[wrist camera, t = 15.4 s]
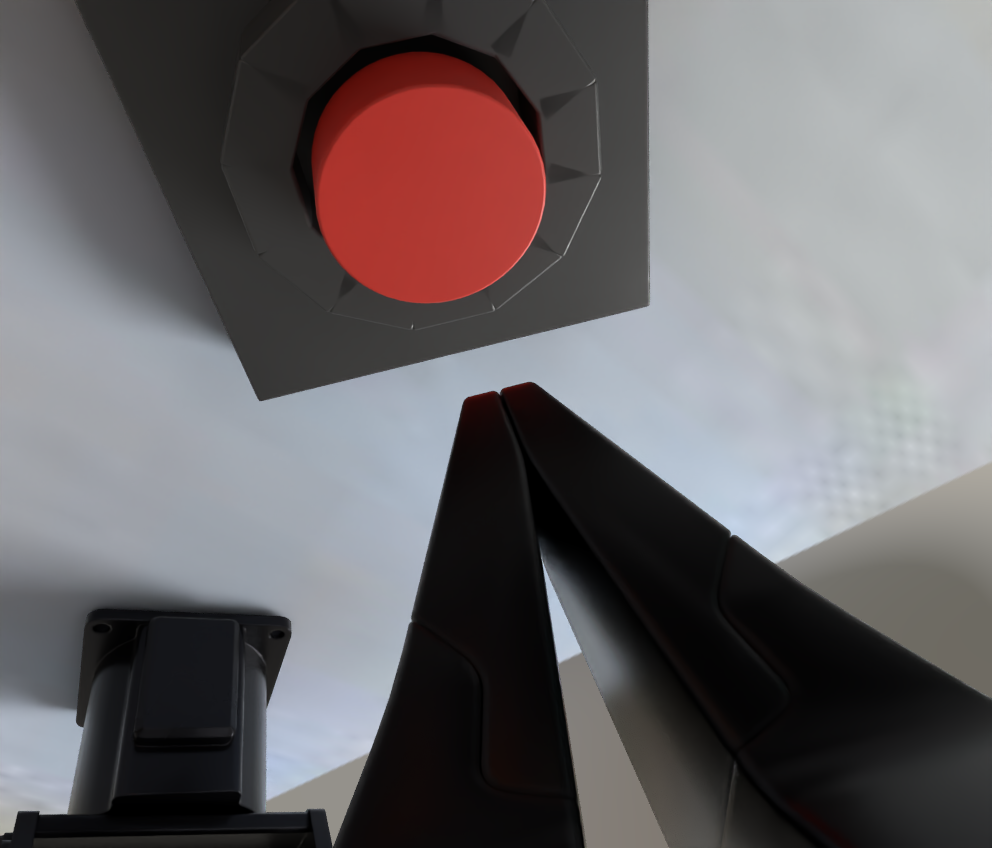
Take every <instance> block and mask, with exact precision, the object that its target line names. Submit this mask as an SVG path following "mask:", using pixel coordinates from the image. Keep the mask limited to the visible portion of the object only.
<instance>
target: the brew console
mask: <svg viewBox="0 0 992 848" xmlns="http://www.w3.org/2000/svg"><path fill="white" fill-rule="evenodd" d="M74 1H75V3H76V5H77V7H78V9H79V12H80V14H81V16H82V18H83V20H84V22H85V25H86V27H87V29H88V31H89V33H90V35H91V38H92V40H93V42H94V44H95V46H96V48H97V51H98V53H99V55H100V57H101V59H102V62H103V64H104V66H105V68H106V70H107V72H108V75H109V77H110V79H111V81H112V83H113V85H114V88H115V90H116V92H117V94H118V96H119V98H120V101H121V103H122V105H123V107H124V109H125V111H126V114H127V116H128V118H129V120H130V122H131V124H132V127H133V129H134V131H135V133H136V135H137V137H138V140H139V142H140V144H141V146H142V148H143V151H144V153H145V155H146V157H147V159H148V161H149V164H150V166H151V168H152V170H153V172H154V174H155V177H156V179H157V181H158V183H159V185H160V187H161V190H162V192H163V194H164V196H165V198H166V200H167V203H168V205H169V207H170V209H171V211H172V213H173V216H174V218H175V220H176V222H177V224H178V226H179V229H180V231H181V233H182V235H183V237H184V240H185V242H186V244H187V246H188V248H189V250H190V253H191V255H192V257H193V259H194V261H195V263H196V266H197V268H198V270H199V272H200V274H201V276H202V279H203V281H204V283H205V285H206V287H207V289H208V292H209V294H210V296H211V298H212V300H213V302H214V305H215V307H216V309H217V311H218V313H219V316H220V318H221V320H222V322H223V324H224V326H225V329H226V331H227V333H228V335H229V337H230V339H231V342H232V344H233V346H234V348H235V350H236V352H237V355H238V357H239V359H240V361H241V363H242V365H243V368H244V370H245V372H246V374H247V376H248V378H249V381H250V383H251V385H252V387H253V389H254V391H255V394H256V396H257V398H258V400H259V401H264V400H268V399H272V398H276V397H280V396H284V395H288V394H292V393H296V392H300V391H304V390H309V389H313V388H317V387H321V386H325V385H329V384H333V383H337V382H341V381H345V380H349V379H353V378H357V377H362V376H366V375H370V374H374V373H378V372H382V371H386V370H390V369H394V368H398V367H402V366H406V365H410V364H414V363H419V362H423V361H427V360H431V359H435V358H439V357H443V356H447V355H451V354H455V353H459V352H463V351H467V350H472V349H476V348H480V347H484V346H488V345H492V344H496V343H500V342H504V341H508V340H512V339H516V338H520V337H525V336H529V335H533V334H537V333H541V332H545V331H549V330H553V329H557V328H561V327H565V326H569V325H573V324H578V323H582V322H586V321H590V320H594V319H598V318H602V317H606V316H610V315H614V314H618V313H622V312H626V311H631V310H635V309H639V308H643V307H647V306H649V305H650V258H649V77H648V0H74ZM408 52H432V53H440V54H444V55H448V56H452V57H455V58H458V59H460V60H462V61H465V62H467V63H469V64H471V65H473V66H474V67H476V68H477V69H479V70H481V71H482V72H483V73H485V74H486V75H487V76H488V77H489V78H491V79H492V80H493V81H494V82H495V83H496V84H497V85H498V87H499V88H500V89H501V90H502V91H503V92H504V94H505V95H506V97H507V98H508V100H509V101H510V103H511V104H512V106H513V107H514V109H515V110H516V112H517V113H518V115H519V116H520V118H521V119H522V121H523V122H524V124H525V126H526V127H527V129H528V130H529V132H530V133H531V135H532V136H533V138H534V140H535V142H536V144H537V147H538V149H539V151H540V154H541V158H542V161H543V165H544V170H545V176H546V197H545V206H544V210H543V215H542V219H541V222H540V224H539V227H538V230H537V232H536V234H535V236H534V238H533V240H532V242H531V244H530V246H529V247H528V249H527V250H526V252H525V253H524V254H523V256H522V257H521V258H520V259H519V261H518V262H517V263H516V264H515V265H514V266H513V267H512V268H511V269H510V270H509V271H508V272H507V273H506V274H505V275H504V276H502V277H501V278H499V279H498V280H497V281H495V282H494V283H493V284H491V285H489V286H487V287H486V288H484V289H482V290H480V291H478V292H476V293H473V294H471V295H469V296H466V297H463V298H459V299H456V300H451V301H446V302H440V303H412V302H406V301H400V300H396V299H393V298H389V297H386V296H384V295H382V294H379V293H377V292H374V291H373V290H371V289H369V288H368V287H366V286H364V285H362V284H361V283H360V282H358V281H357V280H356V279H354V278H353V277H352V276H351V275H350V274H349V273H347V272H346V271H345V270H344V269H343V268H342V267H341V265H340V264H339V263H338V262H337V260H336V259H335V258H334V256H333V255H332V253H331V252H330V250H329V248H328V246H327V245H326V243H325V241H324V238H323V236H322V233H321V231H320V227H319V223H318V219H317V215H316V206H315V195H314V185H313V174H312V164H311V157H312V144H313V138H314V133H315V130H316V127H317V124H318V121H319V118H320V116H321V114H322V112H323V110H324V108H325V106H326V105H327V103H328V102H329V100H330V99H331V97H332V96H333V94H334V93H335V92H336V91H337V90H338V89H339V87H340V86H341V85H342V84H343V83H344V82H345V81H346V80H348V79H349V78H350V77H351V76H352V75H353V74H355V73H356V72H358V71H359V70H361V69H362V68H364V67H365V66H367V65H369V64H371V63H373V62H375V61H378V60H380V59H382V58H385V57H389V56H392V55H396V54H401V53H408Z"/></svg>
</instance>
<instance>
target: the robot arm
mask: <svg viewBox="0 0 992 848" xmlns="http://www.w3.org/2000/svg"><path fill="white" fill-rule="evenodd" d="M541 557H542V559H541ZM542 560H543V563H544V566H545V568H546V571H547V573H548V576H549V578H550V580H551V583H552V585H553V587H554V590H555V592H556V594H557V596H558V599H559V601H560V603H561V605H562V608H563V610H564V612H565V614H566V617H567V619H568V621H569V623H570V626H571V628H572V630H573V632H574V635H575V637H576V639H577V641H578V644H579V646H580V648H581V650H582V653H583V655H584V657H585V659H586V662H587V664H588V666H589V668H590V671H591V673H592V675H593V677H594V680H595V682H596V684H597V686H598V689H599V691H600V693H601V695H602V698H603V700H604V702H605V704H606V707H607V709H608V711H609V713H610V716H611V718H612V720H613V723H614V725H615V727H616V729H617V731H618V734H619V736H620V738H621V741H622V743H623V745H624V747H625V750H626V752H627V754H628V756H629V759H630V761H631V763H632V765H633V767H634V770H635V772H636V774H637V777H638V779H639V781H640V783H641V786H642V788H643V790H644V792H645V795H646V797H647V799H648V801H649V804H650V806H651V808H652V810H653V813H654V815H655V817H656V819H657V822H658V824H659V826H660V829H661V831H662V833H663V835H664V837H665V840H666V842H667V844H668V847H669V848H992V698H991V697H988V696H987V695H985V694H983V693H981V692H980V691H978V690H976V689H974V688H973V687H971V686H969V685H967V684H966V683H964V682H962V681H961V680H959V679H957V678H955V677H954V676H952V675H951V674H949V673H947V672H946V671H944V670H942V669H941V668H939V667H937V666H936V665H934V664H932V663H931V662H929V661H927V660H926V659H924V658H922V657H921V656H919V655H917V654H916V653H914V652H912V651H911V650H909V649H908V648H906V647H904V646H903V645H901V644H899V643H897V642H896V641H894V640H893V639H891V638H889V637H888V636H886V635H884V634H883V633H881V632H879V631H878V630H876V629H874V628H873V627H871V626H869V625H868V624H866V623H864V622H863V621H861V620H860V619H858V618H856V617H854V616H853V615H851V614H849V613H848V612H846V611H844V610H843V609H842V608H840V607H838V606H837V605H835V604H834V603H832V602H830V601H829V600H828V599H826V598H824V597H823V596H821V595H820V594H818V593H816V592H815V591H813V590H812V589H810V588H808V587H807V586H806V585H804V584H802V583H801V582H799V581H798V580H797V579H795V578H794V577H792V576H791V575H790V574H788V573H787V572H785V571H784V570H783V569H781V568H780V567H778V566H777V565H776V564H774V563H773V562H771V561H770V560H769V559H767V558H766V557H764V556H763V555H762V554H760V553H759V552H758V551H756V550H755V549H754V548H752V547H751V546H750V545H748V544H747V543H746V542H745V541H743V540H742V539H741V538H739V537H738V536H737V535H732V536H731V532H730V531H729V530H728V529H727V528H726V527H724V526H723V525H722V524H720V523H719V522H718V521H716V520H715V519H714V518H712V517H711V516H710V515H709V514H707V513H706V512H705V511H703V510H702V509H701V508H699V507H698V506H697V505H695V504H694V503H693V502H691V501H690V500H689V499H687V498H686V497H685V496H683V495H682V494H681V493H679V492H678V491H677V490H675V489H674V488H673V487H672V486H670V485H669V484H668V483H666V482H665V481H664V480H662V479H661V478H660V477H658V476H657V475H656V474H654V473H653V472H652V471H650V470H649V469H648V468H646V467H645V466H644V465H642V464H641V463H640V462H638V461H637V460H636V459H635V458H633V457H632V456H631V455H629V454H628V453H627V452H625V451H624V450H623V449H621V448H620V447H619V446H617V445H616V444H615V443H613V442H612V441H611V440H609V439H608V438H607V437H605V436H604V435H603V434H601V433H600V432H599V431H598V430H596V429H595V428H594V427H592V426H591V425H590V424H588V423H587V422H586V421H584V420H583V419H582V418H580V417H579V416H578V415H576V414H575V413H574V412H572V411H571V410H570V409H568V408H567V407H566V406H564V405H563V404H562V403H561V402H559V401H558V400H557V399H555V398H554V397H553V396H551V395H550V394H549V393H547V392H546V391H545V390H543V389H542V388H541V387H539V386H538V385H537V384H535V383H532V382H527V383H523V384H519V385H515V386H511V387H507V388H504V389H502V390H501V392H500V395H499V394H498V393H497V392H495V391H491V392H487V393H483V394H479V395H475V396H471V397H468V398H466V399H465V400H464V402H463V405H462V409H461V413H460V418H459V422H458V426H457V430H456V434H455V438H454V442H453V446H452V451H451V455H450V459H449V463H448V467H447V471H446V475H445V479H444V484H443V488H442V492H441V496H440V500H439V504H438V508H437V513H436V517H435V521H434V525H433V529H432V533H431V537H430V541H429V546H428V550H427V554H426V558H425V562H424V566H423V570H422V574H421V579H420V583H419V587H418V591H417V595H416V599H415V603H414V607H413V612H412V616H411V619H412V622H411V623H410V624H409V626H408V631H407V635H406V639H405V643H404V647H403V651H402V655H401V659H400V662H399V666H398V669H397V673H396V676H395V680H394V683H393V687H392V691H391V694H390V698H389V701H388V703H387V706H386V709H385V712H384V715H383V718H382V720H381V723H380V726H379V729H378V732H377V735H376V737H375V740H374V743H373V746H372V749H371V751H370V754H369V756H368V759H367V761H366V764H365V767H364V769H363V772H362V774H361V777H360V779H359V782H358V785H357V787H356V790H355V792H354V795H353V798H352V800H351V803H350V805H349V808H348V810H347V813H346V816H345V818H344V821H343V823H342V826H341V828H340V831H339V833H338V836H337V839H336V841H335V844H334V846H333V847H332V842H331V837H330V832H329V827H328V822H327V817H326V812H325V810H324V809H307V810H306V812H267V813H266V709H267V706H268V703H269V700H270V697H271V694H272V691H273V688H274V685H275V682H276V679H277V676H278V673H279V670H280V667H281V664H282V662H283V659H284V656H285V653H286V650H287V647H288V644H289V641H290V638H291V621H290V620H289V619H287V618H285V617H281V616H261V615H237V614H213V613H190V612H166V611H142V610H119V609H98V610H95V611H92V612H91V613H89V614H88V616H87V618H86V623H85V628H84V638H83V649H82V661H81V672H80V683H79V694H78V706H77V717H76V722H77V724H78V725H79V726H80V727H83V728H84V729H83V734H82V739H81V745H80V750H79V755H78V760H77V766H76V771H75V776H74V782H73V787H72V792H71V797H70V803H69V808H68V813H67V814H59V815H39V812H40V811H18V814H17V819H16V823H15V827H14V831H13V833H5V834H4V835H3V836H0V848H587V846H586V839H585V834H584V826H583V820H582V814H581V807H580V801H579V794H578V789H577V782H576V775H575V769H574V764H573V756H572V750H571V744H570V737H569V731H568V724H567V718H566V712H565V705H564V699H563V693H562V686H561V679H560V673H559V667H558V660H557V654H556V647H555V641H554V635H553V628H552V622H551V616H550V609H549V603H548V596H547V590H546V584H545V577H544V571H543V565H542Z"/></svg>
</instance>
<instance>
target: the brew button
mask: <svg viewBox="0 0 992 848" xmlns="http://www.w3.org/2000/svg"><path fill="white" fill-rule="evenodd" d="M311 164H312V174H313V185H314V195H315V206H316V215H317V219H318V223H319V227H320V231H321V233H322V236H323V238H324V241H325V243H326V245H327V246H328V248H329V250H330V252H331V253H332V255H333V256H334V258H335V259H336V260H337V262H338V263H339V264H340V265H341V267H342V268H343V269H344V270H345V271H346V272H347V273H349V274H350V275H351V276H352V277H353V278H354V279H356V280H357V281H358V282H360V283H361V284H362V285H364V286H366V287H368V288H369V289H371V290H373V291H374V292H377V293H379V294H382V295H384V296H386V297H389V298H393V299H396V300H400V301H406V302H412V303H440V302H446V301H451V300H456V299H459V298H463V297H466V296H469V295H471V294H473V293H476V292H478V291H480V290H482V289H484V288H486V287H487V286H489V285H491V284H493V283H494V282H495V281H497V280H498V279H499V278H501V277H502V276H504V275H505V274H506V273H507V272H508V271H509V270H510V269H511V268H512V267H513V266H514V265H515V264H516V263H517V262H518V261H519V259H520V258H521V257H522V256H523V254H524V253H525V252H526V250H527V249H528V247H529V246H530V244H531V242H532V240H533V238H534V236H535V234H536V232H537V230H538V227H539V224H540V222H541V219H542V215H543V210H544V206H545V197H546V176H545V170H544V165H543V161H542V158H541V154H540V151H539V149H538V147H537V144H536V142H535V140H534V138H533V136H532V135H531V133H530V132H529V130H528V129H527V127H526V126H525V124H524V122H523V121H522V119H521V118H520V116H519V115H518V113H517V112H516V110H515V109H514V107H513V106H512V104H511V103H510V101H509V100H508V98H507V97H506V95H505V94H504V92H503V91H502V90H501V89H500V88H499V87H498V85H497V84H496V83H495V82H494V81H493V80H492V79H491V78H489V77H488V76H487V75H486V74H485V73H483V72H482V71H481V70H479V69H477V68H476V67H474V66H473V65H471V64H469V63H467V62H465V61H462V60H460V59H458V58H455V57H452V56H448V55H444V54H440V53H432V52H408V53H401V54H396V55H392V56H389V57H385V58H382V59H380V60H378V61H375V62H373V63H371V64H369V65H367V66H365V67H364V68H362V69H361V70H359V71H358V72H356V73H355V74H353V75H352V76H351V77H350V78H349V79H348V80H346V81H345V82H344V83H343V84H342V85H341V86H340V87H339V89H338V90H337V91H336V92H335V93H334V94H333V96H332V97H331V99H330V100H329V102H328V103H327V105H326V106H325V108H324V110H323V112H322V114H321V116H320V118H319V121H318V124H317V127H316V130H315V133H314V138H313V144H312V157H311Z"/></svg>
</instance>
